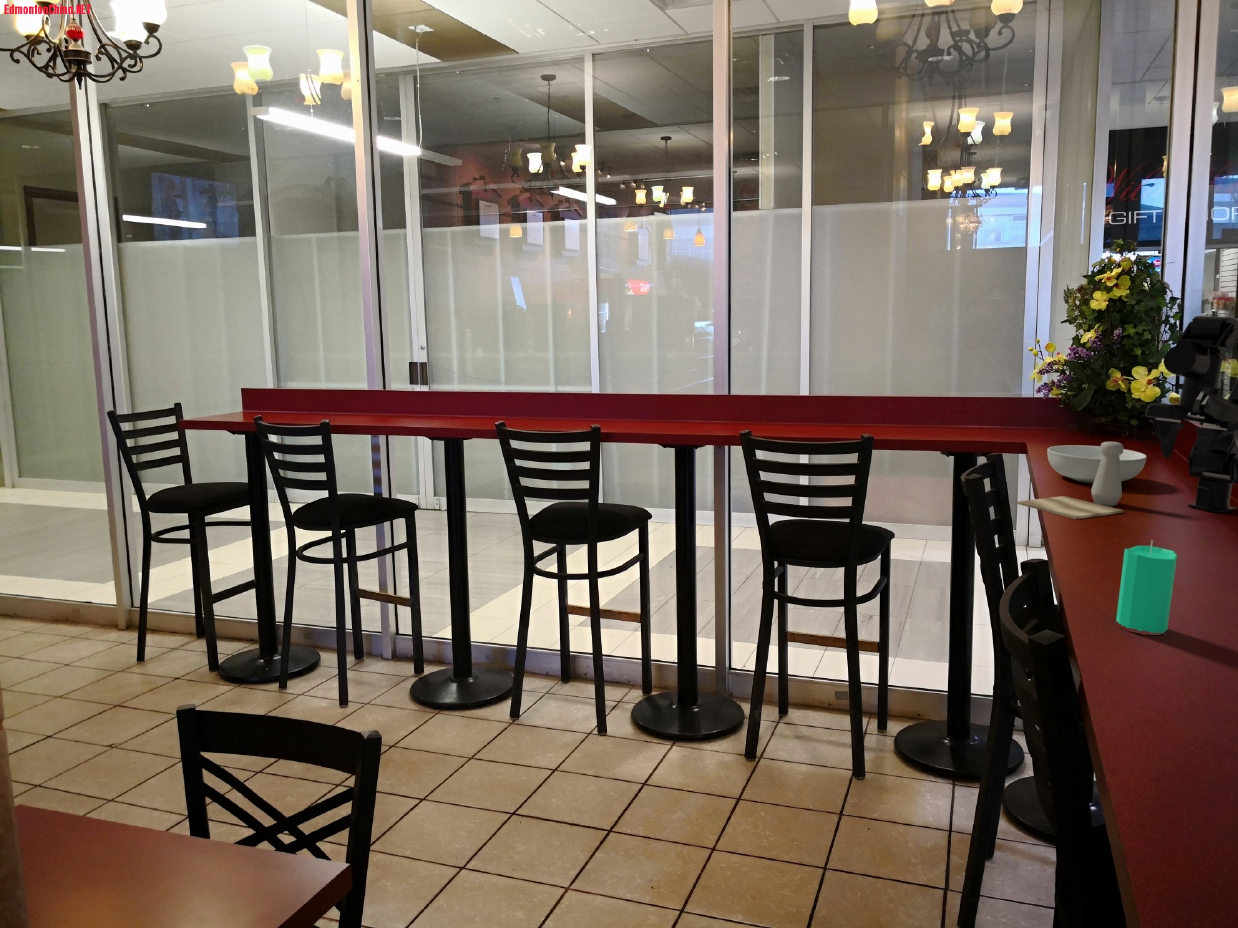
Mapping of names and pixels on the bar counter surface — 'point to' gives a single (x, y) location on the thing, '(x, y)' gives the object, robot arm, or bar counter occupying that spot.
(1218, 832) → the bar counter surface
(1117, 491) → the salt shaker
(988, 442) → the bar counter surface
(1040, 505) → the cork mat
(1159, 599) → the candle
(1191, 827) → the bar counter surface
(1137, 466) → the serving bowl
